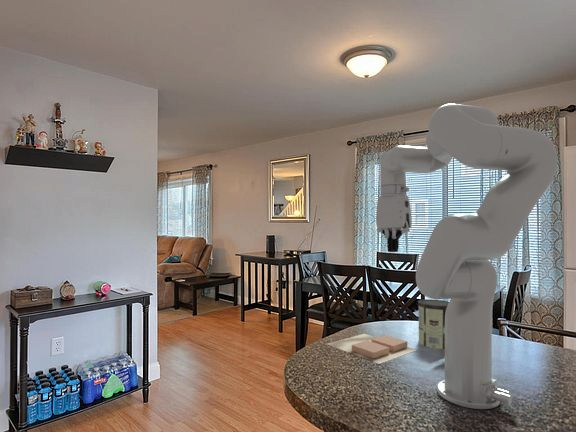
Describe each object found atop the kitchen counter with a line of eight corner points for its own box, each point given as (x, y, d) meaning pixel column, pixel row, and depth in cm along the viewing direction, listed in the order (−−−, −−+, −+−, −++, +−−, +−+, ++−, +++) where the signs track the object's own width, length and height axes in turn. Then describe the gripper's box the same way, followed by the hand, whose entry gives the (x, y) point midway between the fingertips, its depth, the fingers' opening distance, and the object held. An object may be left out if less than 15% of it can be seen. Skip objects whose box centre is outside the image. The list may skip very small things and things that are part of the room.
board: (417, 354, 109) (417, 349, 109) (379, 368, 98) (379, 363, 98) (364, 337, 125) (364, 333, 125) (326, 347, 114) (326, 344, 114)
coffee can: (445, 342, 120) (445, 299, 121) (459, 353, 110) (459, 306, 110) (413, 341, 121) (413, 298, 121) (424, 352, 110) (424, 305, 111)
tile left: (367, 346, 112) (389, 353, 106) (351, 351, 108) (373, 359, 101) (367, 340, 112) (389, 347, 106) (351, 344, 108) (373, 352, 101)
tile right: (385, 340, 118) (407, 347, 111) (371, 345, 113) (393, 352, 107) (385, 335, 118) (407, 341, 111) (371, 339, 113) (393, 346, 107)
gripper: (421, 191, 110) (421, 252, 110) (379, 194, 121) (379, 250, 121) (408, 189, 105) (408, 253, 105) (365, 192, 117) (365, 250, 116)
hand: (392, 251), depth 113 cm, fingers closed
